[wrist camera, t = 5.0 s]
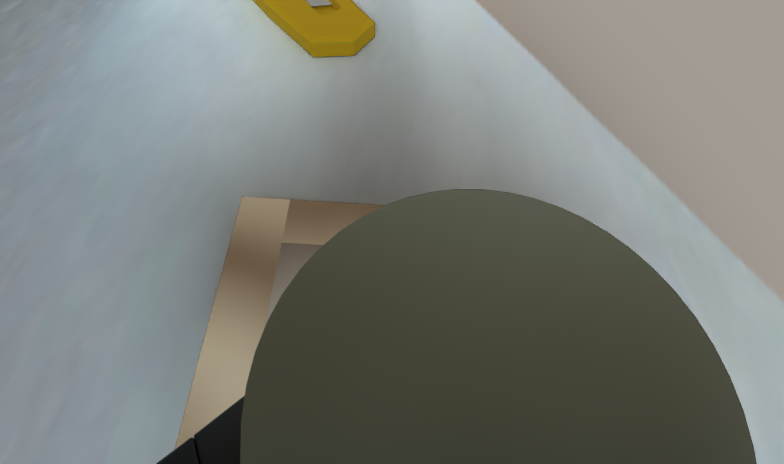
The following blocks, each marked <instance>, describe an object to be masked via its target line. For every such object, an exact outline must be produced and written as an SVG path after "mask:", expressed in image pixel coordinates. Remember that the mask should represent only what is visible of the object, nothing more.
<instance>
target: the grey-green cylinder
mask: <svg viewBox="0 0 784 464" xmlns="http://www.w3.org/2000/svg"><path fill="white" fill-rule="evenodd" d="M240 464H756V458H755V452H754V447H753V443H752V440H751V436H750V432H749V429H748V425H747V422H746V418H745V414H744V411H743V408H742V406H741V403H740V401H739V398H738V396H737V393H736V391H735V388H734V386H733V383H732V381H731V378H730V376H729V374H728V372H727V370H726V368H725V366H724V364H723V362H722V360H721V358H720V356H719V354H718V353H717V351H716V349H715V347H714V345H713V343H712V342H711V340H710V339H709V337H708V336H707V334H706V332H705V331H704V329H703V328H702V326H701V325H700V323H699V322H698V320H697V319H696V317H695V316H694V314H693V313H692V312H691V311H690V309H689V308H688V307H687V306H686V304H685V303H684V302H683V300H682V299H681V298H680V297H679V295H678V294H677V293H676V292H675V290H674V289H673V288H672V287H671V286H670V285H669V284H668V283H667V282H666V281H665V280H664V279H663V278H662V277H661V276H660V275H659V274H658V273H657V272H656V271H655V270H654V268H652V267H651V266H650V265H649V264H648V263H647V262H646V261H644V260H643V259H642V258H641V257H640V256H639V255H637V254H636V253H635V252H634V251H633V250H632V249H630V248H629V247H628V246H626V245H625V244H623V243H622V242H621V241H619V240H618V239H616V238H615V237H614V236H612V235H611V234H609V233H608V232H607V231H605V230H603V229H601V228H600V227H598V226H596V225H594V224H593V223H591V222H589V221H587V220H586V219H584V218H582V217H580V216H578V215H576V214H573V213H571V212H569V211H567V210H565V209H562V208H560V207H558V206H555V205H552V204H549V203H546V202H543V201H540V200H537V199H534V198H531V197H526V196H522V195H517V194H513V193H508V192H501V191H492V190H483V189H455V190H445V191H436V192H430V193H425V194H421V195H416V196H412V197H408V198H405V199H402V200H399V201H396V202H393V203H391V204H388V205H385V206H383V207H381V208H379V209H377V210H375V211H373V212H371V213H369V214H367V215H365V216H363V217H361V218H359V219H358V220H356V221H355V222H353V223H352V224H350V225H348V226H347V227H345V228H344V229H342V230H341V231H339V232H338V233H337V234H336V235H335V236H333V237H332V238H331V239H330V240H329V241H328V242H326V243H325V244H324V245H323V246H322V247H320V248H319V249H318V250H317V251H316V252H315V254H314V255H313V256H312V257H311V258H310V259H309V260H308V261H307V262H306V263H305V264H304V265H303V267H302V268H301V269H300V270H299V271H298V273H297V274H296V275H295V277H294V278H293V280H292V281H291V282H290V284H289V285H288V287H287V288H286V289H285V291H284V292H283V293H282V295H281V297H280V299H279V301H278V302H277V304H276V306H275V308H274V310H273V312H272V313H271V315H270V317H269V319H268V321H267V323H266V326H265V328H264V331H263V333H262V336H261V338H260V341H259V343H258V346H257V348H256V351H255V354H254V358H253V362H252V365H251V369H250V373H249V377H248V380H247V384H246V390H245V397H244V404H243V411H242V418H241V446H240Z"/></svg>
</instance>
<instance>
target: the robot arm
mask: <svg viewBox="0 0 784 464" xmlns="http://www.w3.org/2000/svg"><path fill="white" fill-rule="evenodd" d="M244 397H245V395H244V396H243V397H242V398H241V399H239V400H238V401H237V402H235V403H234V404H233V405H232V406H230V407H229V408H228V409H226V410H225V411H224V412H223V413H221V414H220V415H219V416H217V417H216V418H215V419H214V420H212V421H211V422H210V423H208V424H207V425H206V426H205V427H203V428H202V429H201V430H200V431H198V432H197V433H196V434H195V435H194V438H189V439H188V440H186V441H185V442H184V443H183V444H181V445H180V446H179V447H177V448H176V449H175V450H174V451H172V452H171V453H170V454H168V455H167V456H166V457H164V458H163V459H162V460H160V461H159V462H158V463H156V464H240V446H241V418H242V411H243V404H244Z"/></svg>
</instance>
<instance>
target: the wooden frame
mask: <svg viewBox="0 0 784 464" xmlns="http://www.w3.org/2000/svg"><path fill="white" fill-rule="evenodd" d="M383 206H385V205H370V204H354V203H339V202H323V201H307V200H291V199H275V198H259V197H243V196H242V199H241V203H240V207H239V210H238V214H237V218H236V222H235V225H234V229H233V233H232V237H231V240H230V244H229V248H228V252H227V255H226V259H225V263H224V266H223V270H222V274H221V278H220V281H219V285H218V289H217V293H216V296H215V300H214V304H213V308H212V311H211V315H210V319H209V323H208V326H207V330H206V334H205V337H204V341H203V345H202V349H201V352H200V356H199V360H198V364H197V367H196V371H195V375H194V379H193V382H192V386H191V390H190V394H189V397H188V401H187V405H186V408H185V412H184V416H183V420H182V423H181V427H180V431H179V435H178V438H177V442H176V446H175V449H176V448H177V447H179V446H180V445H181V444H183V443H184V442H185V441H186V440H188V439H189V438H194V435H195V434H196V433H197V432H198V431H200V430H201V429H202V428H203V427H205V426H206V425H207V424H208V423H210V422H211V421H212V420H214V419H215V418H216V417H217V416H219V415H220V414H221V413H223V412H224V411H225V410H226V409H228V408H229V407H230V406H232V405H233V404H234V403H235V402H237V401H238V400H239V399H241V398H242V397H243V396H244V395H245V390H246V384H247V380H248V377H249V373H250V369H251V365H252V362H253V358H254V354H255V351H256V348H257V346H258V343H259V341H260V338H261V336H262V333H263V331H264V328H265V326H266V323H267V321H268V319H269V317H270V315H271V313H272V312H273V310H274V308H275V306H276V304H277V302H278V301H279V299H280V297H281V295H282V293H283V292H284V291H285V289H286V288H287V287H288V285H289V284H290V282H291V281H292V280H293V278H294V277H295V275H296V274H297V273H298V271H299V270H300V269H301V268H302V267H303V265H304V264H305V263H306V262H307V261H308V260H309V259H310V258H311V257H312V256H313V255H314V254H315V252H316V251H317V250H318V249H319V248H320V247H322V246H323V245H324V244H325V243H326V242H328V241H329V240H330V239H331V238H332V237H333V236H335V235H336V234H337V233H338V232H339V231H341V230H342V229H344V228H345V227H347V226H348V225H350V224H352V223H353V222H355V221H356V220H358V219H359V218H361V217H363V216H365V215H367V214H369V213H371V212H373V211H375V210H377V209H379V208H381V207H383Z"/></svg>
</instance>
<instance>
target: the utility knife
mask: <svg viewBox="0 0 784 464" xmlns="http://www.w3.org/2000/svg"><path fill="white" fill-rule="evenodd" d="M253 1H254V2H255V3H256V4H257V5H258V6H259V7H260V8H261V9H262V10H263V11H264V12H265V14H266V15H267V16H268V17H269V18H270V19H271V20H273V21H274V22H275V23H276V24H277V25H278V26H279V27H280V28H281V29H282V30H283V31H284V32H286V33H287V34H288V35H289V36H290V37H291V38H292V39H293V40H295V41H296V42H297V43H298V44H299V45H300V46H301V47H303V48H304V49H305V50H306V51H307V52H308V53H309V54H310V55H312V56H313V57H326V56H353V55H355V54H356V53H357V52H358V51H360V50H361V49H362V48H363V47H364V46H365V45H366V44H367V43H368V42H369V41H370V40H372V39H373V38H374V37H375V22H374V21H373V20H372V19H371V18H369V17H368V16H367V15H366V14H365V13H364V12H363V11H362V10H361V9H360V8H359V7H358V6H357V5H356V4H355V3H354V2H353V1H352V0H253Z"/></svg>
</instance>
